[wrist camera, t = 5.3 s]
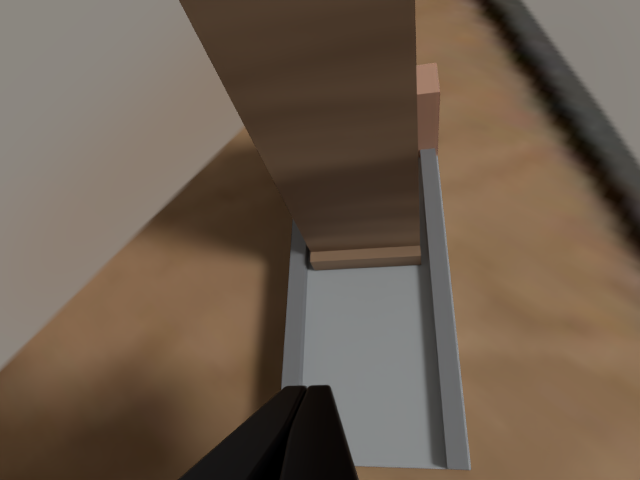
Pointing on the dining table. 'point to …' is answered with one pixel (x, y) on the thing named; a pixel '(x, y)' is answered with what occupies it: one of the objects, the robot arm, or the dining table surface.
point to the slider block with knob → (328, 116)
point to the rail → (387, 333)
